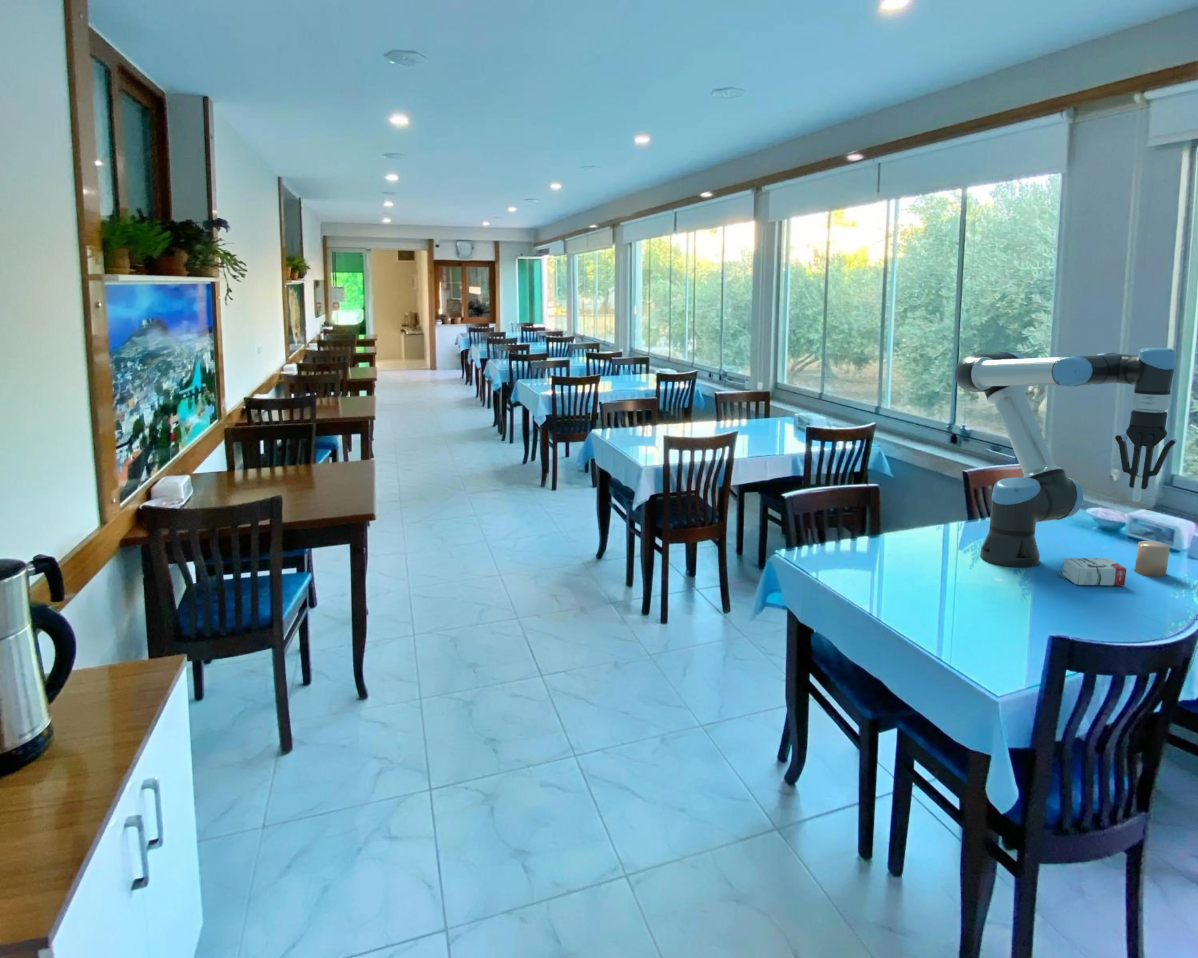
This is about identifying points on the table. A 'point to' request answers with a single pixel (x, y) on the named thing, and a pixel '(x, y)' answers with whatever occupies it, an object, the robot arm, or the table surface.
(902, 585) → the table surface
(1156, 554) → the beige domed cylinder
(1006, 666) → the table surface
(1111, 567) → the ink box
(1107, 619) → the table surface
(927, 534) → the table surface
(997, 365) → the robot arm
